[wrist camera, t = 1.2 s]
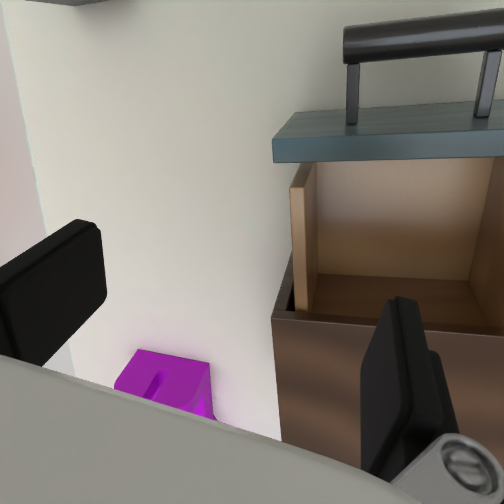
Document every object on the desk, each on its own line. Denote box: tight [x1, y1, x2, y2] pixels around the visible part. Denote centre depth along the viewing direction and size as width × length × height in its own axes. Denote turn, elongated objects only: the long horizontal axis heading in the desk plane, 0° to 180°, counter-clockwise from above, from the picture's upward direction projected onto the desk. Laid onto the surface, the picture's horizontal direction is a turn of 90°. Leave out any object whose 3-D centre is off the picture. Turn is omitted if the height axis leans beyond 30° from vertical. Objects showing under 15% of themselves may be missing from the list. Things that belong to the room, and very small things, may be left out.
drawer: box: [272, 8, 504, 328], centre depth 21 cm, size 17×13×8 cm
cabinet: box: [271, 252, 504, 471], centre depth 27 cm, size 14×15×10 cm
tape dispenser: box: [114, 349, 217, 421], centre depth 42 cm, size 16×10×6 cm, turn 0°
